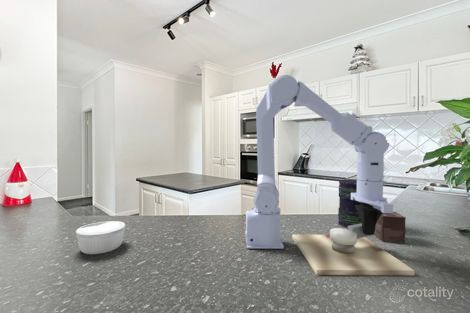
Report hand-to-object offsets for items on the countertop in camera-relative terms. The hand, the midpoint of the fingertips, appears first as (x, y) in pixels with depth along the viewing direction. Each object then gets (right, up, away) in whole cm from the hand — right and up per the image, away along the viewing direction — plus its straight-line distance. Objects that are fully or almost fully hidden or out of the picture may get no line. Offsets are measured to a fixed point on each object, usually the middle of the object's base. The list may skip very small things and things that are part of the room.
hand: (368, 234), depth 59 cm
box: (+11, -5, +9) cm, 15 cm away
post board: (-7, -4, -1) cm, 8 cm away
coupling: (-4, -1, 0) cm, 4 cm away
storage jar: (+7, -4, +21) cm, 22 cm away
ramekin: (-68, -4, +2) cm, 68 cm away
